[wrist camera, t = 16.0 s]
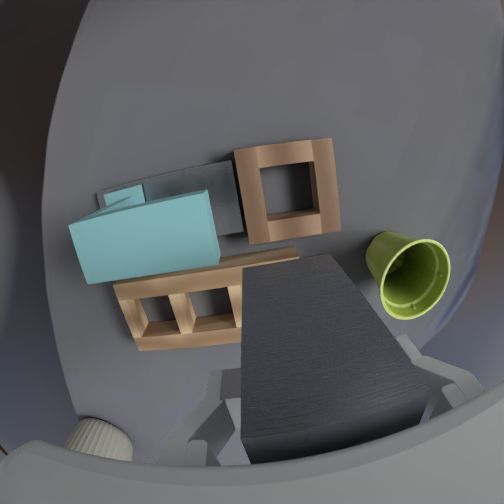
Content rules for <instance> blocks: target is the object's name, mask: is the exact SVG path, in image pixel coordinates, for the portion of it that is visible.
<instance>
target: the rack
mask: <svg viewBox="0 0 504 504" xmlns="http://www.w3.org/2000/svg"><path fill="white" fill-rule="evenodd" d="M293 259H299V255H298V253H297V251H296V249H295V247H294V246H291V247H285V248H279V249H273V250H266V251H260V252H254V253H247V254H241V255H235V256H229V257H222V258H220V259H219V264H218V265H213V266H206V267H200V268H193V269H187V270H180V271H174V272H167V273H161V274H154V275H147V276H141V277H134V278H127V279H121V280H116V282H115V283H114V284H113V288H114V291H115V293H116V296H117V299H118V301H119V304H120V306H121V309H122V311H123V314H124V316H125V319H126V321H127V324H128V326H129V328H130V331H131V333H132V335H133V338H134V340H135V342H136V344H137V346H138V349H139V351H142V350H160V349H175V348H187V347H198V346H208V345H218V344H227V343H235V342H241V328H242V268H245V267H251V266H257V265H263V264H269V263H275V262H281V261H287V260H293ZM223 287H228V292H229V296H230V301H231V305H232V309H233V313H229V314H221V315H214V316H206V317H197V318H196V316H195V313H194V310H193V306H192V303H191V299H190V296H189V293H188V292H194V291H202V290H209V289H216V288H223ZM164 295H168V296H169V299H170V302H171V306H172V309H173V312H174V315H175V318H176V320H170V321H160V322H150V323H149V322H148V320H147V317H146V314H145V312H144V309H143V306H142V304H141V301H140V298H148V297H156V296H164Z"/></svg>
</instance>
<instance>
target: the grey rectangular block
mask: <svg viewBox="0 0 504 504" xmlns="http://www.w3.org/2000/svg"><path fill="white" fill-rule="evenodd" d="M431 393H432V392H431V391H430V389H429V388H428V386H427V385H426V383H425V382H424V380H423V379H422V377H421V376H420V374H419V373H418V371H417V370H416V368H415V367H414V365H413V364H412V362H411V361H410V359H409V358H408V356H407V355H406V354H405V352H404V351H403V349H402V348H401V346H400V345H399V344H398V342H397V341H396V339H395V338H394V337H393V335H392V334H391V332H390V331H389V330H388V328H387V327H386V326H385V324H384V323H383V321H382V320H381V319H380V317H379V316H378V315H377V313H376V312H375V311H374V309H373V308H372V307H371V305H370V304H369V303H368V301H367V300H366V299H365V297H364V296H363V295H362V294H361V292H360V291H359V290H358V288H357V287H356V286H355V284H354V283H353V282H352V281H351V279H350V278H349V277H348V276H347V274H346V273H345V272H344V270H343V269H342V268H341V267H340V265H339V264H338V263H337V262H336V260H335V259H334V258H333V257H332V256H331V254H330V253H328V254H322V255H317V256H311V257H305V258H299V259H293V260H287V261H281V262H275V263H269V264H263V265H257V266H251V267H245V268H242V328H241V441H242V443H243V446H244V448H245V451H246V453H247V455H248V458H249V460H250V463H251V464H260V463H269V462H277V461H285V460H291V459H298V458H304V457H309V456H314V455H319V454H324V453H329V452H333V451H337V450H341V449H345V448H349V447H353V446H357V445H360V444H364V443H367V442H370V441H373V440H377V439H380V438H383V437H386V436H389V435H392V434H394V433H397V432H400V431H403V430H405V429H408V428H410V427H413V426H415V425H418V424H419V423H420V420H421V418H422V416H423V413H424V411H425V408H426V406H427V403H428V401H429V398H430V395H431Z"/></svg>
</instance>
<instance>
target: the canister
mask: <svg viewBox="0 0 504 504" xmlns="http://www.w3.org/2000/svg"><path fill="white" fill-rule="evenodd" d="M62 447H63V448H66V449H70V450H74V451H78V452H82V453H87V454H91V455H96V456H101V457H106V458H112V459H118V460H124V461H132V454H133V447H132V443H131V441H130V439H129V438H128V436H127V435H126V434H125V433H124V432H122V431H121V430H120V429H119V428H117V427H115V426H113V425H112V424H109V423H108V422H105V421H102V420H100V419H94V418H86V419H83V420H81V421H80V422H79V423H78V424H77V425H76V426H75V428H74V429H73V430H72V432H71V433H70V435H69V436H68V438H67V439H66V441H65V442H64V444H63V445H62Z"/></svg>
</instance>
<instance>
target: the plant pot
mask: <svg viewBox="0 0 504 504" xmlns="http://www.w3.org/2000/svg"><path fill="white" fill-rule="evenodd" d="M401 253H402V254H401ZM366 264H367V266H368V268H369V270H370V272H371V274H372V275H373V277H374V279H375V281H376V283H377V285H378V287H379V295H380V300H381V303H382V305H383V307H384V309H385V310H386V312H387V313H388V314H389V315H391V316H392V317H394V318H397V319H402V320H407V319H413V318H416V317H419V316H421V315H423V314H424V313H426V312H427V311H428V310H430V309H431V308H432V307H433V306H434V305H435V304H436V303H437V302H438V300H439V299H440V298H441V296H442V295H443V293H444V291H445V289H446V286H447V284H448V280H449V276H450V260H449V257H448V254H447V252H446V250H445V249H444V247H443V246H442V245H441V244H439V243H438V242H436V241H434V240H431V239H418V240H416V239H413V238H410V237H407V236H404V235H401V234H399V233H396V232H392V231H387V232H383V233H380V234H378V235H377V236H376V237H375V238H374V239H373V241H372V242H371V244H370V245H369V247H368V248H367V251H366ZM389 268H392V269H391V270H389V271H388V269H389Z"/></svg>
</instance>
